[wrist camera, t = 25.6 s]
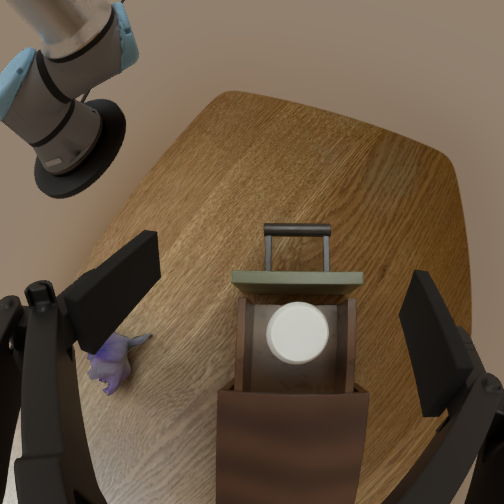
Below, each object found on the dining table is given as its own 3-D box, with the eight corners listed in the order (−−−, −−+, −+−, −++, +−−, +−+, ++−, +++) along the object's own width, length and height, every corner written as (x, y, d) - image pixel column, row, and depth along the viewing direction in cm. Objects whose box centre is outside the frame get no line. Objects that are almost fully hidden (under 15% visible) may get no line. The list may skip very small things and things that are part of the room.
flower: (120, 290, 32) (57, 347, 27) (170, 348, 33) (111, 406, 28) (114, 299, 40) (64, 344, 34) (154, 345, 41) (106, 391, 36)
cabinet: (235, 376, 35) (217, 390, 25) (349, 378, 33) (369, 392, 24) (231, 490, 30) (215, 528, 21) (336, 493, 29) (347, 532, 20)
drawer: (245, 237, 38) (235, 213, 30) (346, 238, 36) (359, 214, 29) (238, 411, 33) (224, 430, 25) (343, 413, 31) (357, 433, 24)
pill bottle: (261, 320, 34) (251, 316, 24) (307, 298, 34) (315, 285, 24) (282, 366, 32) (280, 379, 23) (329, 343, 32) (345, 348, 23)
